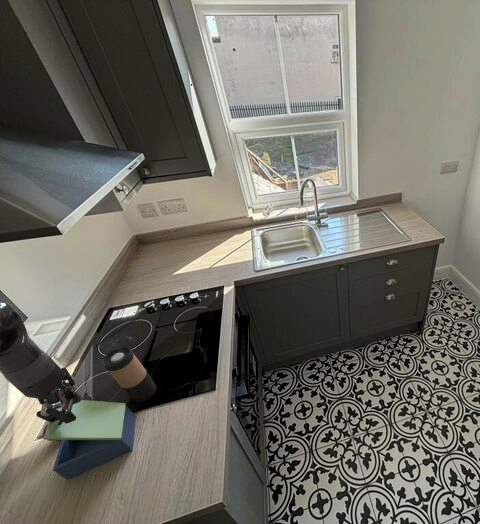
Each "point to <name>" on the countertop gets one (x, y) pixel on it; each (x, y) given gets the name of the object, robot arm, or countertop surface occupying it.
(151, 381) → the travel mug
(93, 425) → the lunchbox lid
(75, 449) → the box
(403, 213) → the countertop surface
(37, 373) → the robot arm
